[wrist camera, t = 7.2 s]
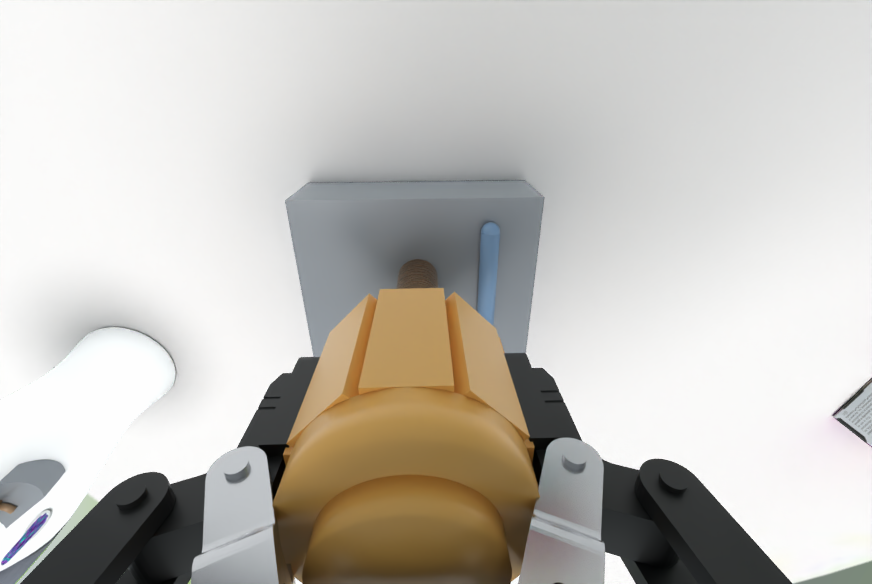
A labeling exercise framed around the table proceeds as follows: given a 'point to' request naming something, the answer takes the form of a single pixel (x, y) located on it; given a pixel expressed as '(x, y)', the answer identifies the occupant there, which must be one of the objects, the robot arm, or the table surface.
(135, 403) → the beer glass
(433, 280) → the wooden post
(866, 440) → the candy bar box
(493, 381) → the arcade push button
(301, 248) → the box
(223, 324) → the table surface
